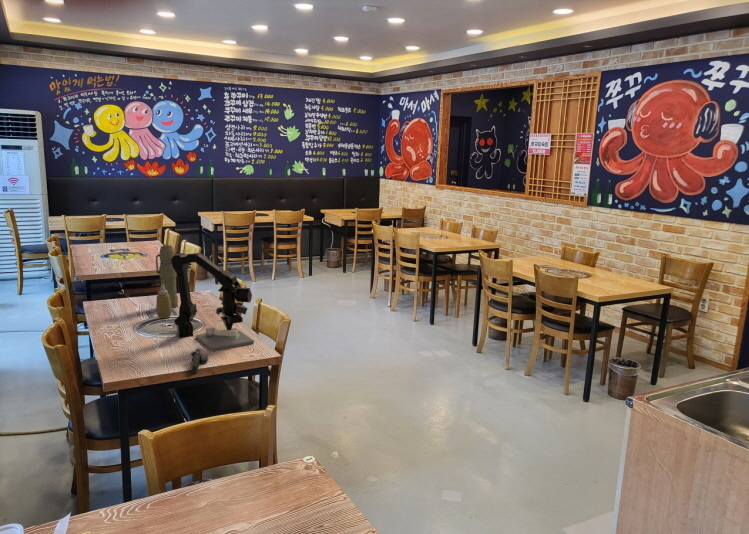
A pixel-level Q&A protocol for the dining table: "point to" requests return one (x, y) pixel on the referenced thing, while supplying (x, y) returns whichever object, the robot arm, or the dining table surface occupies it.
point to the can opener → (197, 360)
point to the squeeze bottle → (163, 303)
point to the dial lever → (220, 332)
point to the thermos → (168, 273)
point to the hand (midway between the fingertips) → (229, 332)
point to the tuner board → (224, 341)
